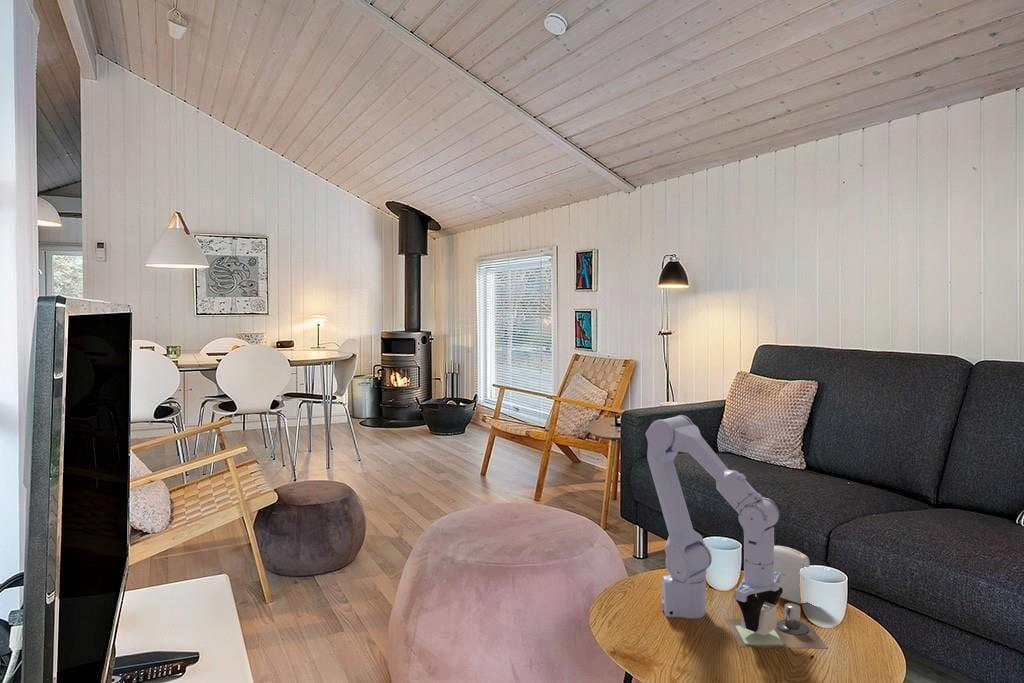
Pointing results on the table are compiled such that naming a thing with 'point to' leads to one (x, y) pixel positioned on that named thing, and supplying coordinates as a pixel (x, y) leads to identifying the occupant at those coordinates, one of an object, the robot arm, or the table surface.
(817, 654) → the table surface
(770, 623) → the slotted tissue box
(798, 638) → the board
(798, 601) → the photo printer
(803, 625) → the post
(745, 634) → the mat
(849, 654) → the table surface
